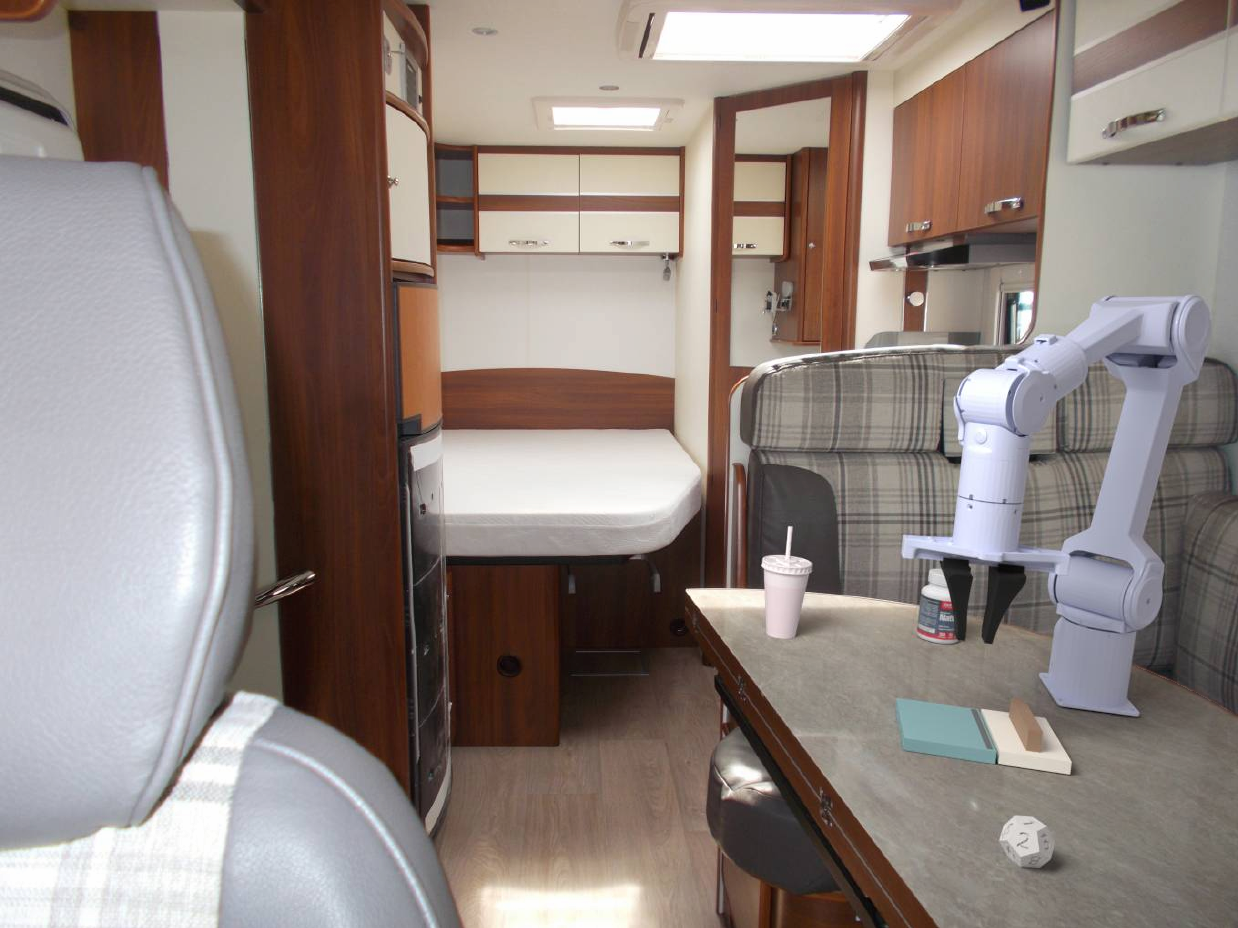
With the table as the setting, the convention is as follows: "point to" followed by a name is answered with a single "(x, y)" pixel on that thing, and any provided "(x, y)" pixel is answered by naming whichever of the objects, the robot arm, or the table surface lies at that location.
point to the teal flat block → (944, 731)
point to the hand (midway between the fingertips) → (973, 639)
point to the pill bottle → (936, 611)
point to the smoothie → (784, 591)
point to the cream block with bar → (1025, 739)
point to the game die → (1027, 841)
